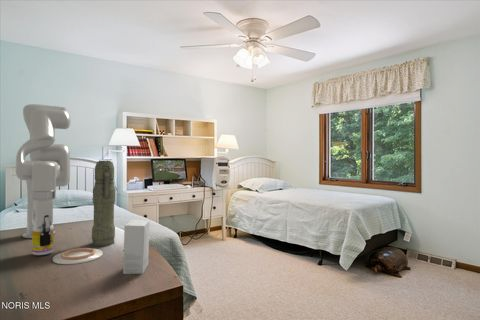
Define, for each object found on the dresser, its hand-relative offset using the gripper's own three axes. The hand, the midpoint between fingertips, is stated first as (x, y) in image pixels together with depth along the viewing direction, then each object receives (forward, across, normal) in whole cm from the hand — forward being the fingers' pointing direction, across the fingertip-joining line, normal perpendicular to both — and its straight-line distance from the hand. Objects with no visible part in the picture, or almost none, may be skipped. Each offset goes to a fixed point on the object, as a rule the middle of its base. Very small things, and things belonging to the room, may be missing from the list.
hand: (42, 242), depth 111 cm
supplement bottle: (+4, 0, 0) cm, 4 cm away
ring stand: (+4, +12, +9) cm, 15 cm away
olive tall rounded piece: (+5, 0, +22) cm, 22 cm away
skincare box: (+4, +38, +19) cm, 42 cm away
